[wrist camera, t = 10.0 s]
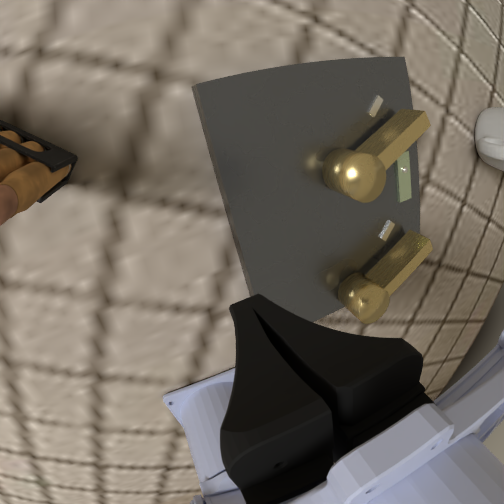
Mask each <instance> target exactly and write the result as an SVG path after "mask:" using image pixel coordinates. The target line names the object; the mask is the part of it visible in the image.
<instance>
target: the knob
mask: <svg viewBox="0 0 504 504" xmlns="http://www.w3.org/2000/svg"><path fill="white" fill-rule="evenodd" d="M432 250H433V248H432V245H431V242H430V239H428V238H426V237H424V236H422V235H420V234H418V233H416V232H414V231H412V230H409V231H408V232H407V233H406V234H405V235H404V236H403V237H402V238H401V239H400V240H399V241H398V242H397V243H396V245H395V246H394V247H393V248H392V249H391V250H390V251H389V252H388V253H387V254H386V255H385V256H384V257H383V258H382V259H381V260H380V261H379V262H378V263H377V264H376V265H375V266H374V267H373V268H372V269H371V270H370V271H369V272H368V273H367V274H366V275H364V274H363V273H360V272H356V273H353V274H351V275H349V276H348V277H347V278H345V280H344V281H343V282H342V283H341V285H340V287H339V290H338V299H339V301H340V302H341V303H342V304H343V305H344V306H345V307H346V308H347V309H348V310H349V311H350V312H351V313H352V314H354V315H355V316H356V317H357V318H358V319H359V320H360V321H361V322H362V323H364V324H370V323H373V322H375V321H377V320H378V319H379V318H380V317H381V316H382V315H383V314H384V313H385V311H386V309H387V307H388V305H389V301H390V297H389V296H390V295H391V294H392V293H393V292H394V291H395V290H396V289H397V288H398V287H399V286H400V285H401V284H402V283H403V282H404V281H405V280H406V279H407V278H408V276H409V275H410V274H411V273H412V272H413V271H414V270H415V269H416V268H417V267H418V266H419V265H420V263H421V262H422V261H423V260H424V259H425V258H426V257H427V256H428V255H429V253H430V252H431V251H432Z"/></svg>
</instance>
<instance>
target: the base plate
mask: <svg viewBox="0 0 504 504" xmlns="http://www.w3.org/2000/svg"><path fill="white" fill-rule="evenodd" d="M192 90H193V94H194V98H195V101H196V105H197V109H198V112H199V116H200V120H201V123H202V127H203V131H204V134H205V138H206V142H207V145H208V149H209V153H210V156H211V160H212V163H213V167H214V171H215V174H216V178H217V181H218V185H219V189H220V192H221V196H222V199H223V203H224V206H225V210H226V213H227V217H228V220H229V224H230V227H231V231H232V234H233V238H234V241H235V245H236V248H237V252H238V255H239V259H240V262H241V266H242V269H243V273H244V276H245V280H246V283H247V286H248V290H249V293H250V297H251V296H254V295H256V294H261V295H263V296H264V297H266V298H267V299H269V300H270V301H272V302H274V303H275V304H277V305H279V306H280V307H282V308H284V309H286V310H288V311H290V312H291V313H293V314H295V315H297V316H299V317H301V318H304V319H306V320H308V321H311V322H314V321H316V320H318V319H320V318H322V317H325V316H327V315H329V314H331V313H333V312H335V311H337V310H339V309H341V308H343V307H345V306H344V305H343V304H342V303H341V302H340V301H339V299H338V290H339V287H340V285H341V283H342V282H343V281H344V280H345V278H347V277H348V276H349V275H351V274H353V273H356V272H360V273H363V274H364V275H366V274H367V273H368V272H369V271H370V270H371V269H372V268H373V267H374V266H375V265H376V264H377V263H378V262H379V261H380V260H381V259H382V258H383V257H384V256H385V255H386V254H387V253H388V252H389V251H390V250H391V249H392V248H393V247H394V246H395V245H396V243H397V242H398V241H399V240H400V239H401V238H402V237H403V236H404V235H405V234H406V233H407V232H408V231H409V230H412V231H414V232H416V233H418V234H420V197H419V171H418V155H417V142H416V141H415V142H414V143H413V144H412V145H411V146H410V147H409V148H408V149H407V150H406V151H405V152H404V153H403V154H402V155H401V156H400V157H399V158H398V159H397V160H396V161H395V162H394V163H393V164H392V165H391V166H390V167H389V168H388V169H387V170H386V182H385V186H384V188H383V191H382V192H381V194H380V195H379V196H378V197H377V198H376V199H375V200H373V201H371V202H368V203H362V202H359V201H357V200H355V199H352V198H350V197H348V196H345V195H343V194H341V193H338V192H336V191H334V190H332V189H330V188H329V187H328V186H327V185H326V184H325V182H324V180H323V176H322V167H323V163H324V161H325V159H326V157H327V156H328V154H329V153H330V152H332V151H333V150H335V149H339V148H344V149H349V150H353V151H355V150H356V149H357V148H358V147H359V146H361V145H362V144H363V143H364V142H365V141H366V140H367V139H368V138H369V137H370V136H372V135H373V134H374V133H375V132H376V131H377V130H378V129H379V128H380V127H382V126H383V125H384V124H385V123H386V122H387V121H388V120H389V119H390V118H392V117H393V116H394V115H395V114H396V113H397V112H398V111H399V110H400V109H409V110H413V106H412V98H411V91H410V85H409V79H408V73H407V67H406V62H405V57H371V58H353V59H339V60H328V61H319V62H310V63H302V64H295V65H288V66H281V67H275V68H269V69H263V70H258V71H252V72H247V73H242V74H237V75H233V76H228V77H224V78H220V79H215V80H211V81H207V82H203V83H199V84H196V85H194V86H192ZM417 268H418V267H417Z"/></svg>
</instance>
